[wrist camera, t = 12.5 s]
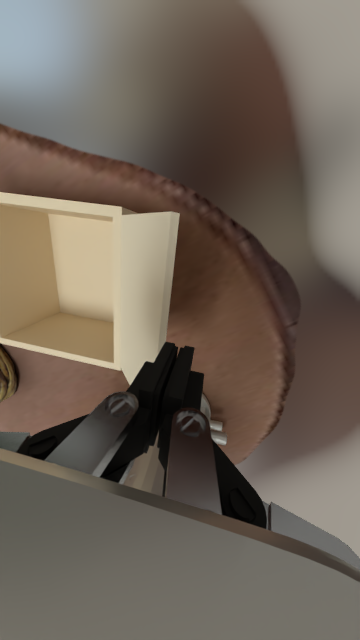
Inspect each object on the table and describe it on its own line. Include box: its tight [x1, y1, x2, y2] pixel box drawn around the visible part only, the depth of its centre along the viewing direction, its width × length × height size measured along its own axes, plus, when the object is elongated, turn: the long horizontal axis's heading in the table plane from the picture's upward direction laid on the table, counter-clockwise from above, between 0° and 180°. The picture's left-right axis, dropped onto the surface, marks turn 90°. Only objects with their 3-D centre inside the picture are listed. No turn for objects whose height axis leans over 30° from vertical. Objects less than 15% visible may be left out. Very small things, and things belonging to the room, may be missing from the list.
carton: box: [0, 192, 139, 371], centre depth 24 cm, size 16×16×10 cm
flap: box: [120, 211, 180, 385], centre depth 15 cm, size 8×15×1 cm
